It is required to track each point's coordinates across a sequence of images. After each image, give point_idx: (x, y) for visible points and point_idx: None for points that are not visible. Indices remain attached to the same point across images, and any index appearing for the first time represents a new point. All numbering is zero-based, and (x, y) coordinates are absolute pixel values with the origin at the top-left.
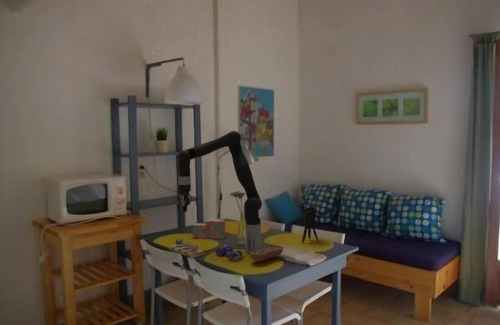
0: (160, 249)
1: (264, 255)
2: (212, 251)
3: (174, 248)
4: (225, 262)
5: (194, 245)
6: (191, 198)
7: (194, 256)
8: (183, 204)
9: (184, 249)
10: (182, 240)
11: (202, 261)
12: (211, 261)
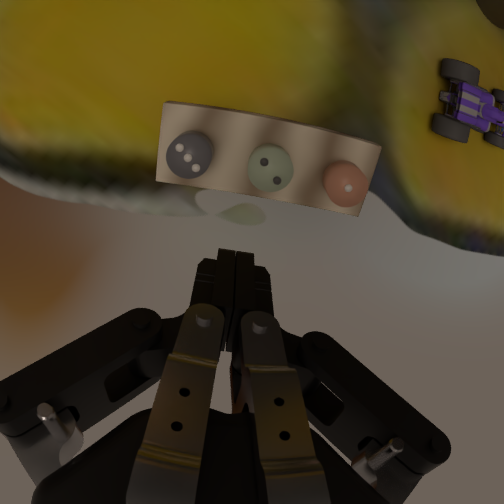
0: (125, 199)
1: None
2: (375, 77)
3: (204, 187)
4: (487, 187)
5: (356, 192)
6: (441, 451)
7: None
8: (235, 376)
9: None
10: (208, 147)
11: (416, 219)
12: (444, 202)
